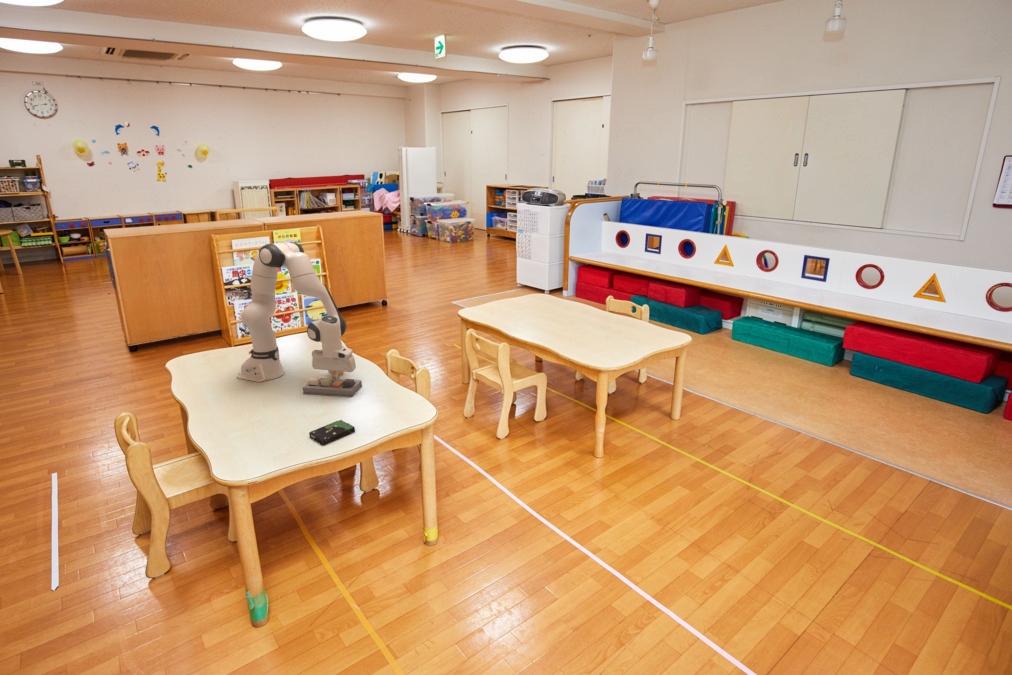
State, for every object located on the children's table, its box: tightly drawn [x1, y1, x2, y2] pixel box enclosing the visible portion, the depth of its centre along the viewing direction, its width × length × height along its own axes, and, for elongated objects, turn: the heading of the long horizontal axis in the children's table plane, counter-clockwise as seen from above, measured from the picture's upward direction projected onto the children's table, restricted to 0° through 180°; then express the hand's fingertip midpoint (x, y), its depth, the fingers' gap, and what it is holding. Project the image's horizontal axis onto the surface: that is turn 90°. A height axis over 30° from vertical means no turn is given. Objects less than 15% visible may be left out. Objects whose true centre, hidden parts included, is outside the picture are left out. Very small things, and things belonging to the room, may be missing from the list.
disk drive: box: [308, 419, 356, 446], centre depth 224 cm, size 10×3×15 cm
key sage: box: [321, 377, 332, 386], centre depth 263 cm, size 4×4×2 cm
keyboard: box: [302, 377, 363, 398], centre depth 263 cm, size 24×12×3 cm, turn 82°
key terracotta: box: [332, 381, 343, 388], centre depth 262 cm, size 4×4×2 cm
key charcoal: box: [343, 378, 355, 387], centre depth 261 cm, size 4×4×2 cm
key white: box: [309, 376, 322, 385], centre depth 263 cm, size 4×4×2 cm
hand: (335, 378), depth 261 cm, fingers closed
